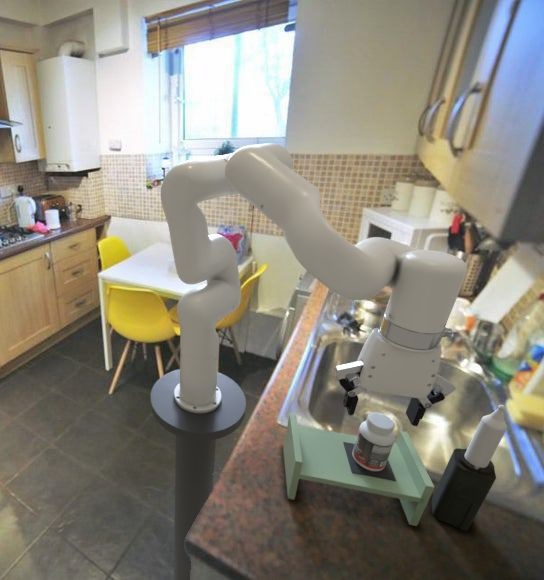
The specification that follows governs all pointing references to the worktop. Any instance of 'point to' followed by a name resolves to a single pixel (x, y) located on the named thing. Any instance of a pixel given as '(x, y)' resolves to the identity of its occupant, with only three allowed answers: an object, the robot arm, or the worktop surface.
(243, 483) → the worktop surface
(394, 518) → the worktop surface
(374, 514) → the worktop surface
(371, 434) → the pill bottle
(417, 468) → the shelf
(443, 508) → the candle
